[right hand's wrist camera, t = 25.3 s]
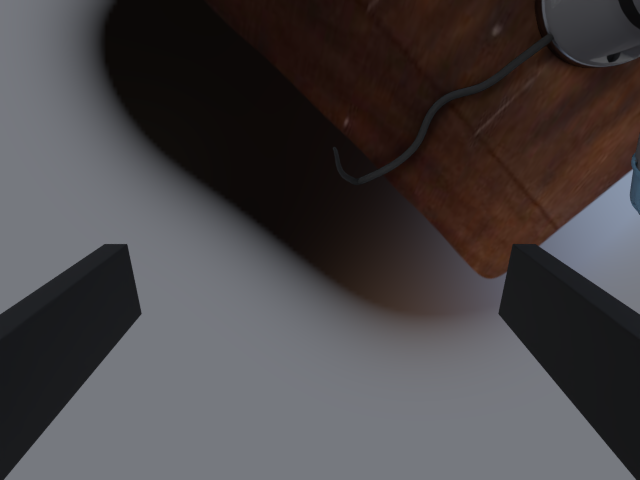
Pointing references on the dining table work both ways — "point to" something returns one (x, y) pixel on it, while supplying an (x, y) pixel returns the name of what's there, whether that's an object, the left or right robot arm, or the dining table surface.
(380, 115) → the dining table surface
